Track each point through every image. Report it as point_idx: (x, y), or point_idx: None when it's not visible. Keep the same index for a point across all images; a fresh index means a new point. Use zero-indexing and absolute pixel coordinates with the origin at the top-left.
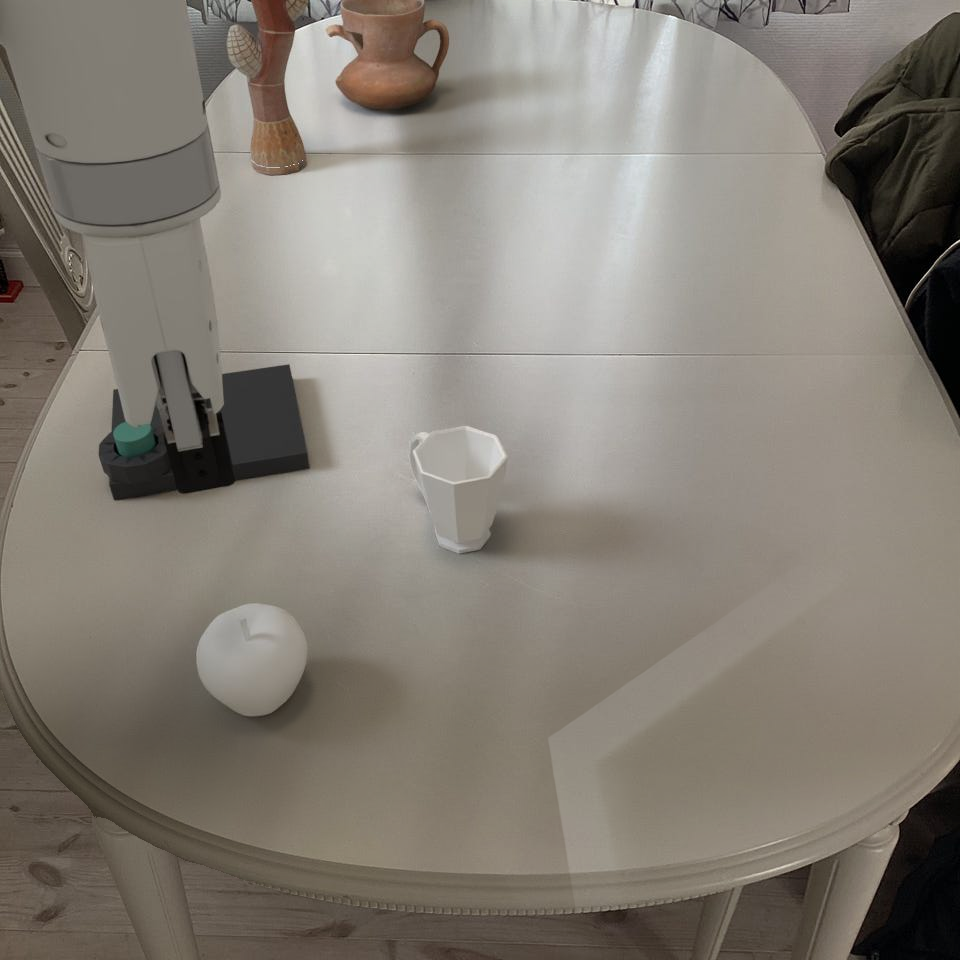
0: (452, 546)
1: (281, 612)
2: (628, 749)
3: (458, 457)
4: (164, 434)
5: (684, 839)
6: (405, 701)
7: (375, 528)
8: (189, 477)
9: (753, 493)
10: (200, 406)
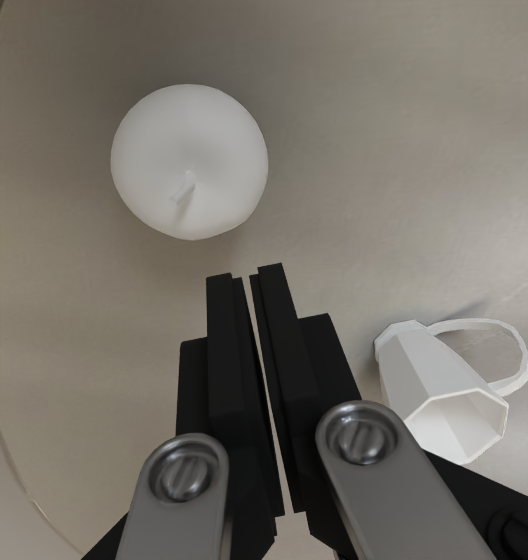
0: (383, 338)
1: (229, 223)
2: (119, 448)
3: (474, 399)
4: (235, 413)
5: (37, 471)
6: (174, 294)
7: (442, 260)
8: (181, 358)
9: None
10: (326, 538)
